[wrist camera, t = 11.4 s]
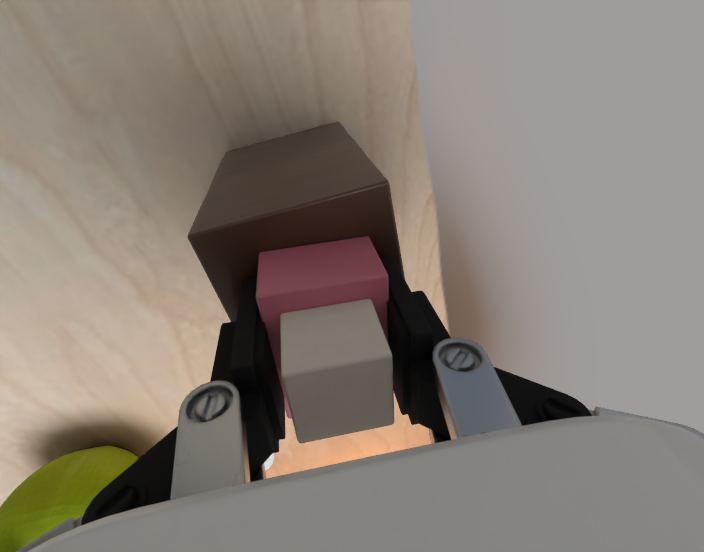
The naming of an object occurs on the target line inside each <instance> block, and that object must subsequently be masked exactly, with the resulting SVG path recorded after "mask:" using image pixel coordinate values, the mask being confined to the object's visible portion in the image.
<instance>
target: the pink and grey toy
mask: <svg viewBox="0 0 704 552" xmlns="http://www.w3.org/2000/svg"><path fill="white" fill-rule="evenodd" d="M256 300H257V304H258V308H259V312H260V315H261V319H262V322H265V326H266V330H267V333H268V337H269V341H270V345H271V349H272V353H273V356H274V360H275V364H276V368H277V372H278V376H279V379H280V383H281V387H282V391H283V395H284V403H285V410H286V413H287V417H288V418H290V419H291V418H292V419H293V423H294V427H295V431H296V435H297V439H298V441H299V443H305V442H310V441H315V440H320V439H325V438H330V437H334V436H339V435H344V434H349V433H354V432H359V431H364V430H369V429H374V428H378V427H383V426H388V425H392V424H393V423H394V397H393V361H392V353H391V350H390V348H389V345H388V320H387V301H389V283H388V274H387V272H386V270H385V268H384V266H383V264H382V262H381V260H380V258H379V256H378V254H377V252H376V250H375V248H374V246H373V244H372V242H371V239H370V238H369V237H368V236H365V237H358V238H351V239H345V240H338V241H331V242H325V243H318V244H311V245H305V246H298V247H291V248H285V249H278V250H271V251H265V252H260V253H259V260H258V273H257V287H256Z"/></svg>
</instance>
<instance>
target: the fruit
mask: <svg viewBox="0 0 704 552" xmlns="http://www.w3.org/2000/svg"><path fill="white" fill-rule="evenodd" d="M138 459H139V458H138V457H137V456H136V455H134V454H133V453H131V452H129V451H127V450H124V449H121V448H118V447H114V446H100V447H95V448H90V449H84V450H79V451H75V452H72V453H69V454H66V455H64V456H61V457H59V458H57V459H55V460H53V461H51V462H49V463H48V464H46V465H45V466H43V467H42V468H40V469H39V470H37V471H36V472H34V473H33V474H32V475H31V476H29V477H28V478H27V479H26V480H25V481H24V482H22V483H21V484H20V485H19V486H18V487H17V488H16V489H15V490H14V491H13V492H12V493H11V495H10V496H9V497H8V498H7V499H6V501H5V502H4V503H3V504H2V506H1V507H0V552H16V551H17V550H19V549H20V548H22V547H24V546H25V545H27V544H28V543H30V542H32V541H33V540H35V539H36V538H38V537H40V536H41V535H43V534H44V533H46V532H48V531H49V530H51V529H52V528H54V527H56V526H57V525H59V524H60V523H62V522H63V521H65V520H67V519H68V518H70V517H71V516H72V517H73V518H74V519H75V520H76V519H78V518H80V517H81V516H83V515H84V513H85V511H86V508H87V507H88V506H89V504H90V503H91V501H92V500H93V498H94V497H95V496H96V495H97V494H98V493H99V492H100V491H101V490H102V489H103V488H104V487H106V486H107V485H108V484H109V483H110V482H112V481H113V480H114V479H115V478H116V477H118V476H119V475H120V474H121V473H122V472H124V471H125V470H126V469H127V468H128V467H129V466H131V465H132V464H133V463H134V462H135V461H137V460H138Z"/></svg>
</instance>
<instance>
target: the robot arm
mask: <svg viewBox="0 0 704 552" xmlns="http://www.w3.org/2000/svg"><path fill="white" fill-rule="evenodd" d="M380 260H381V262H382V264H383V266H384V268H385V270H386V272H387V274H388V283H389V301H387V320H388V345H389V348H390V350H391V353H392V361H393V390H394V393H395V396H396V399H397V402H398V405H399V408H400V411H401V413H402V415H405V414H408V416H409V418H410V421H411V424H412V425H414V424H421V425H423V426H425V427H427V428H429V435H430V439H431V443H432V444H429V445H424V446H419V447H414V448H410V449H405V450H400V451H395V452H391V453H386V454H381V455H376V456H371V457H367V458H362V459H357V460H352V461H348V462H343V463H338V464H333V465H329V466H324V467H319V468H314V469H310V470H305V471H300V472H296V473H291V474H286V475H282V476H277V477H272V478H268V479H266V473H265V466H264V462H265V461H266V460H267V459H268V458H269V457H270V456H271V455H272V453H276V452H279V440H280V439H285V403H284V395H283V391H282V387H281V383H280V379H279V376H278V372H277V368H276V364H275V360H274V356H273V353H272V349H271V345H270V341H269V337H268V333H267V330H266V326H265V322H262V319H261V315H260V312H259V308H258V304H257V300H256V287H257V278H254V279H248V280H242V284H241V291H240V298H239V305H238V312H237V319H236V321H235V322H229V323H223V324H222V326H221V330H220V335H219V340H218V345H217V350H216V355H215V361H214V366H213V371H212V376H211V381H210V382H208V383H206V384H203V385H201V386H199V387H197V388H196V389H194V390H193V391H192V392H191V393H190V394H189V395H187V396H186V398H185V399H184V401H183V402H182V404H181V407H180V410H179V419H178V426H177V427H176V428H175V429H174V430H172V431H171V432H170V433H169V434H168V435H166V436H165V437H164V438H163V439H162V440H160V441H159V442H158V443H157V444H156V445H155V446H153V447H152V448H151V449H150V450H149V451H147V452H146V453H145V454H144V455H143V456H141V457H140V458H139V459H138V460H137V461H135V462H134V463H133V464H132V465H131V466H129V467H128V468H127V469H126V470H125V471H124V472H122V473H121V474H120V475H119V476H118V477H116V478H115V479H114V480H113V481H112V482H110V483H109V484H108V485H107V486H106V487H104V488H103V489H102V490H101V491H100V492H99V493H98V494H97V495H96V496H95V497H94V498H93V500H92V501H91V503H90V504H89V506H88V507H87V508H86V511H85V513H84V515H83V516H81V517H80V518H78V519H76V520H75V519H74V518H73V517H72V516H71V517H70V518H68V519H67V520H65V521H63V522H62V523H60V524H59V525H57V526H56V527H54V528H52V529H51V530H49V531H48V532H46V533H44V534H43V535H41V536H40V537H38V538H36V539H35V540H33V541H32V542H30V543H28V544H27V545H25V546H24V547H22V548H20V549H19V550H17V551H16V552H704V434H703V433H701V432H699V431H697V430H696V429H694V428H690V427H687V426H685V425H681V424H677V423H672V422H667V421H662V420H658V419H653V418H648V417H643V416H638V415H634V414H629V413H624V412H619V411H614V410H609V409H604V408H599V407H595V410H594V411H591V410H588V409H587V408H586V407H585V406H584V405H583V404H582V403H581V402H579V401H578V400H577V399H575V398H573V397H571V396H569V395H567V394H564V393H562V392H559V391H556V390H554V389H551V388H548V387H546V386H543V385H540V384H538V383H535V382H532V381H530V380H527V379H524V378H522V377H519V376H517V375H514V374H511V373H509V372H506V371H503V370H501V369H498V368H495V367H493V365H492V363H491V361H490V359H489V357H488V355H487V353H486V352H485V350H484V349H483V348H482V347H481V346H480V345H478V344H477V343H475V342H473V341H470V340H467V339H463V338H451V337H450V335H449V334H448V332H447V330H446V329H445V327H444V325H443V324H442V322H441V320H440V319H439V317H438V315H437V314H436V312H435V310H434V309H433V307H432V305H431V304H430V302H429V300H428V299H427V297H426V295H425V294H424V292H423V291H416V292H411V291H410V289H409V287H408V285H407V283H406V281H405V280H404V278H403V276H402V274H401V272H400V270H399V269H398V267H397V265H396V263H395V261H394V259H393V258H392V257H390V258H383V259H380Z"/></svg>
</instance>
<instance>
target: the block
mask: <svg viewBox="0 0 704 552" xmlns="http://www.w3.org/2000/svg"><path fill="white" fill-rule="evenodd" d="M365 236H368V237H369V238H370V239H371V242H372V244H373V246H374V248H375V250H376V252H377V254H378V256H379V258H380V259H383V258H390V257H392V258H393V259H394V261H395V263H396V265H397V267H398V269H399V270H400V272H401V274H402V276H403V278H404V280H405V277H404V271H403V265H402V259H401V253H400V247H399V241H398V235H397V229H396V223H395V217H394V211H393V205H392V199H391V193H390V187H389V182H388V181H387V179H386V178H385V177H384V176H383V175H382V173H381V172H380V171H379V170H378V169H377V167H376V166H375V165H374V164H373V163H372V161H371V160H370V159H369V158H368V157H367V155H366V154H365V153H364V152H363V151H362V149H361V148H360V147H359V146H358V145H357V143H356V142H355V141H354V140H353V139H352V138H351V136H350V135H349V134H348V133H347V132H346V130H345V129H344V128H343V127H342V126H341V124H340V123H339V122H336V123H333V124H329V125H325V126H321V127H318V128H314V129H310V130H306V131H303V132H299V133H295V134H291V135H288V136H284V137H280V138H276V139H273V140H269V141H265V142H262V143H258V144H254V145H250V146H247V147H243V148H239V149H235V150H232V151H228V152H226V153H225V155H224V157H223V159H222V161H221V163H220V166H219V168H218V170H217V172H216V174H215V177H214V179H213V181H212V183H211V185H210V188H209V190H208V192H207V194H206V196H205V199H204V201H203V203H202V205H201V207H200V210H199V212H198V214H197V216H196V218H195V221H194V223H193V225H192V227H191V229H190V232H189V234H188V239H189V241H190V243H191V245H192V247H193V249H194V251H195V253H196V255H197V257H198V258H199V260H200V262H201V264H202V266H203V268H204V270H205V272H206V274H207V276H208V278H209V280H210V282H211V284H212V286H213V288H214V289H215V291H216V293H217V295H218V297H219V299H220V301H221V303H222V305H223V307H224V309H225V311H226V313H227V315H228V317H229V319H230V320H231V322H235V321H236V319H237V312H238V305H239V298H240V291H241V284H242V280H248V279H254V278H257V273H258V260H259V253H260V252H265V251H271V250H278V249H285V248H291V247H298V246H305V245H311V244H318V243H325V242H331V241H338V240H345V239H351V238H358V237H365Z"/></svg>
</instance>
